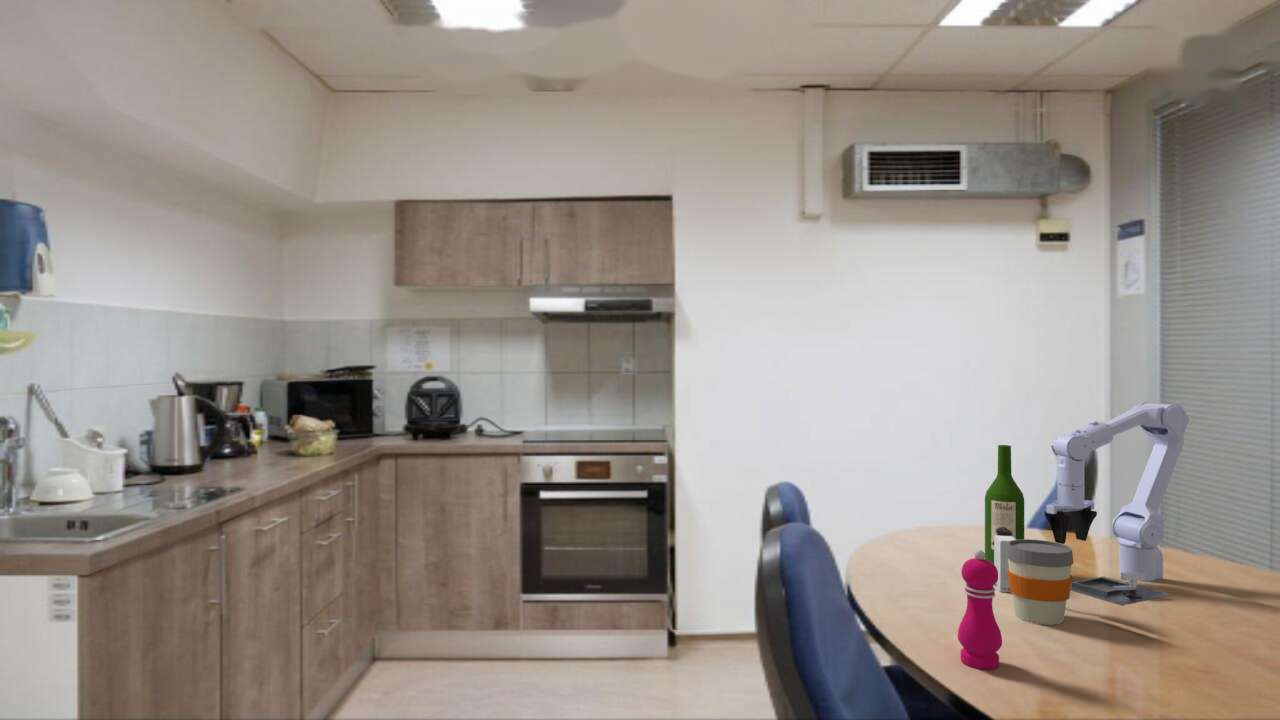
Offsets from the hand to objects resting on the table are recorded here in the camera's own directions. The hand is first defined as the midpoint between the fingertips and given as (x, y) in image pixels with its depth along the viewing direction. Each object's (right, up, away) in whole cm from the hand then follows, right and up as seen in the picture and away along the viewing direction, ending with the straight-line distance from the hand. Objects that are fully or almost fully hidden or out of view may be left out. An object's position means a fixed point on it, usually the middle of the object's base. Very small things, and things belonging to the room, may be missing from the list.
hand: (1070, 541), depth 183 cm
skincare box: (-17, -11, -4) cm, 20 cm away
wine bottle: (-12, -11, +8) cm, 18 cm away
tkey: (+6, -9, -13) cm, 16 cm away
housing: (+5, -10, -8) cm, 14 cm away
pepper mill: (-43, -10, -47) cm, 65 cm away
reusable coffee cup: (-20, -11, -24) cm, 33 cm away
